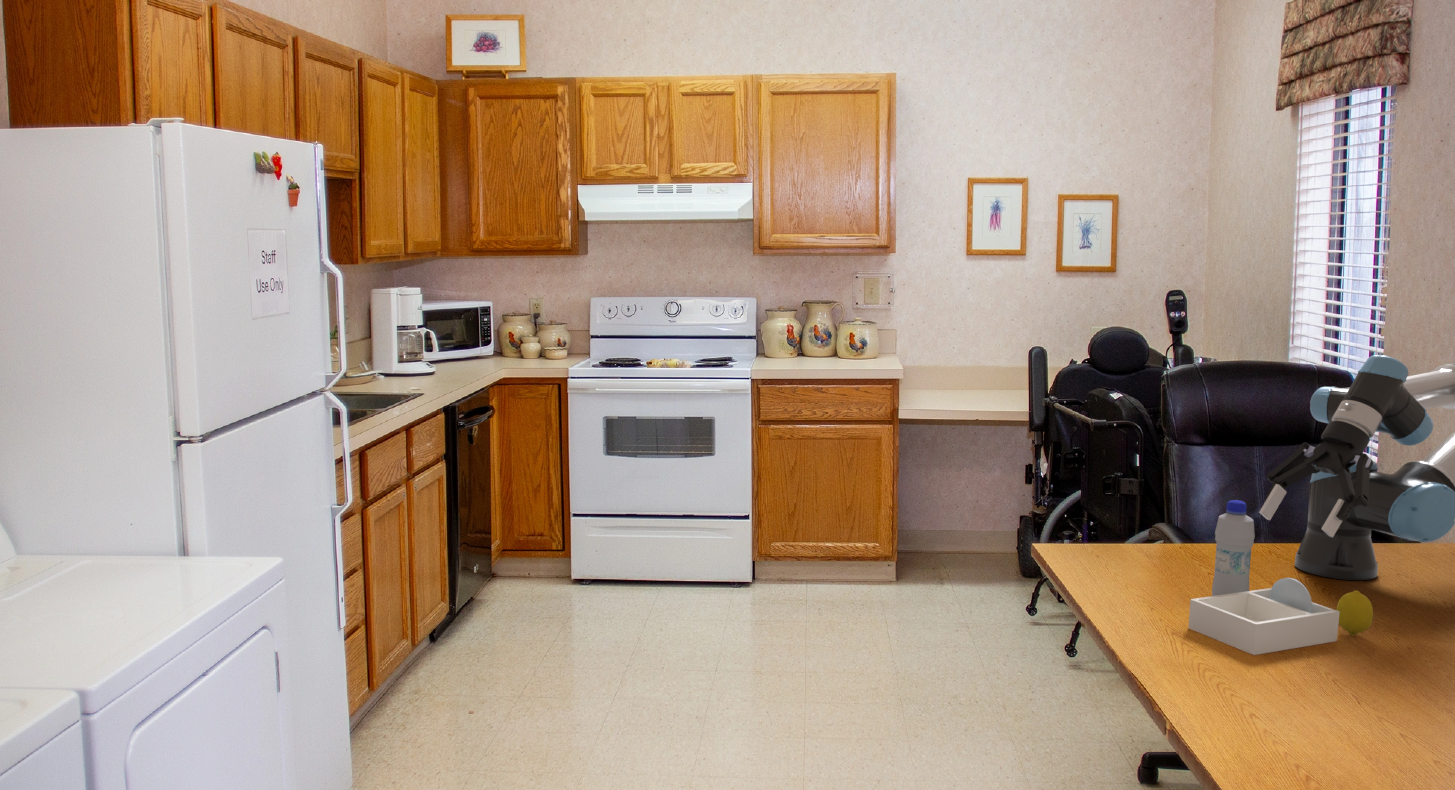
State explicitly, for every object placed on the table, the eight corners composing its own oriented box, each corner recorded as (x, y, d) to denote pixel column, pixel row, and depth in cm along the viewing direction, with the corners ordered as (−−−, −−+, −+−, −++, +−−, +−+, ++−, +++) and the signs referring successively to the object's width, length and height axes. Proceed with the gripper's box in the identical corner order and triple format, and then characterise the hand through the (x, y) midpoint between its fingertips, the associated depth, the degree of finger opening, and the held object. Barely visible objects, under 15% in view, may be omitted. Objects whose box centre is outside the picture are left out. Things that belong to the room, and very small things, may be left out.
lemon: (1375, 642, 189) (1380, 596, 188) (1340, 639, 190) (1344, 594, 189) (1364, 631, 195) (1368, 587, 194) (1329, 629, 196) (1333, 584, 195)
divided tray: (1268, 615, 202) (1272, 566, 201) (1336, 640, 190) (1341, 588, 188) (1188, 627, 195) (1191, 576, 194) (1253, 655, 182) (1258, 600, 181)
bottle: (1203, 600, 211) (1210, 496, 208) (1237, 599, 212) (1244, 496, 209) (1221, 611, 204) (1229, 504, 202) (1256, 611, 205) (1264, 504, 202)
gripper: (1283, 409, 220) (1229, 499, 217) (1402, 429, 197) (1344, 529, 194) (1304, 430, 223) (1251, 519, 220) (1423, 451, 200) (1366, 551, 197)
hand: (1294, 524), depth 207 cm, fingers open, 13 cm apart
